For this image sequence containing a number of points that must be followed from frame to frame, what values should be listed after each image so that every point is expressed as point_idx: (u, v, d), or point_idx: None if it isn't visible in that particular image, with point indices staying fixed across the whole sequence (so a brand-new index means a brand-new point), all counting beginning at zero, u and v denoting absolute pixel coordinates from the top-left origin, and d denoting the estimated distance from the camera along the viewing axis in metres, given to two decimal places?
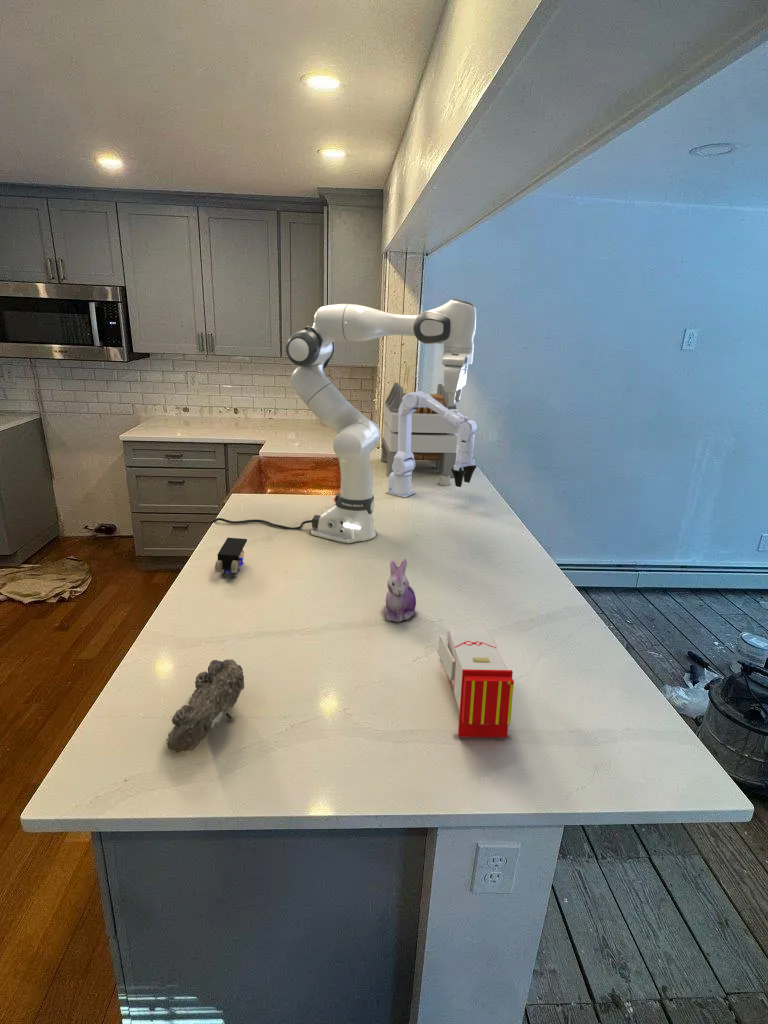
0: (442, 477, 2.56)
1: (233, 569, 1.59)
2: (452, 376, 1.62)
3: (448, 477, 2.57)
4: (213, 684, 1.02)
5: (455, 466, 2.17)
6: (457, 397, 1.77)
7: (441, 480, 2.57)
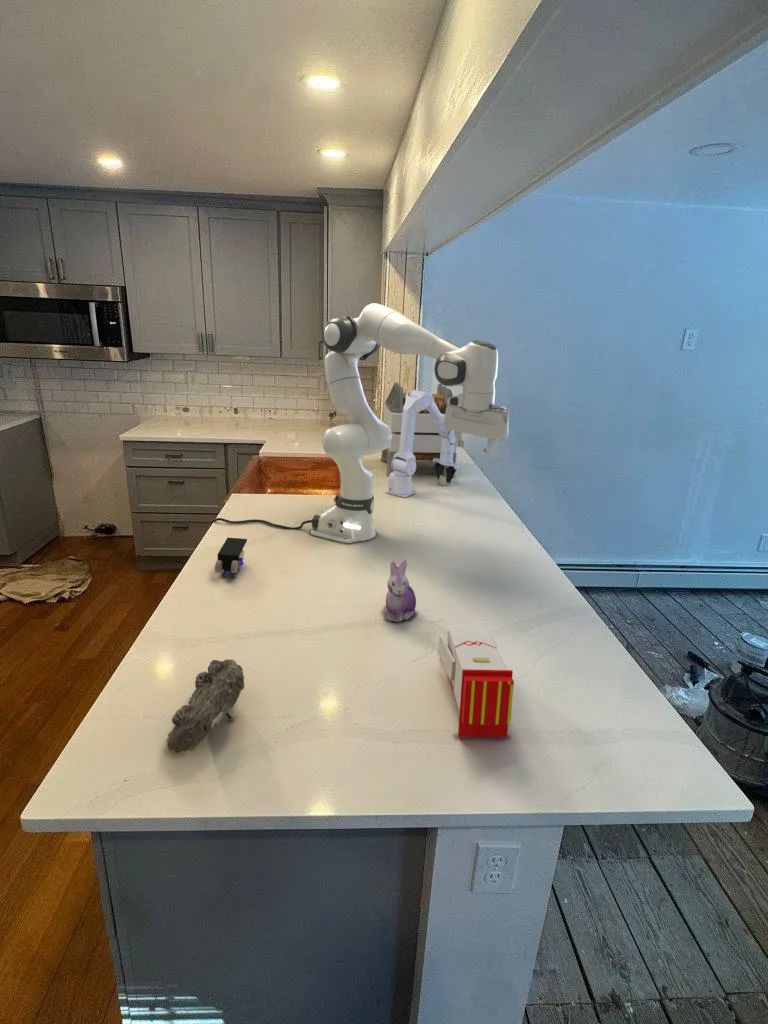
0: (442, 477, 2.56)
1: (233, 569, 1.59)
2: None
3: None
4: (213, 684, 1.02)
5: (457, 466, 2.51)
6: None
7: (441, 480, 2.57)
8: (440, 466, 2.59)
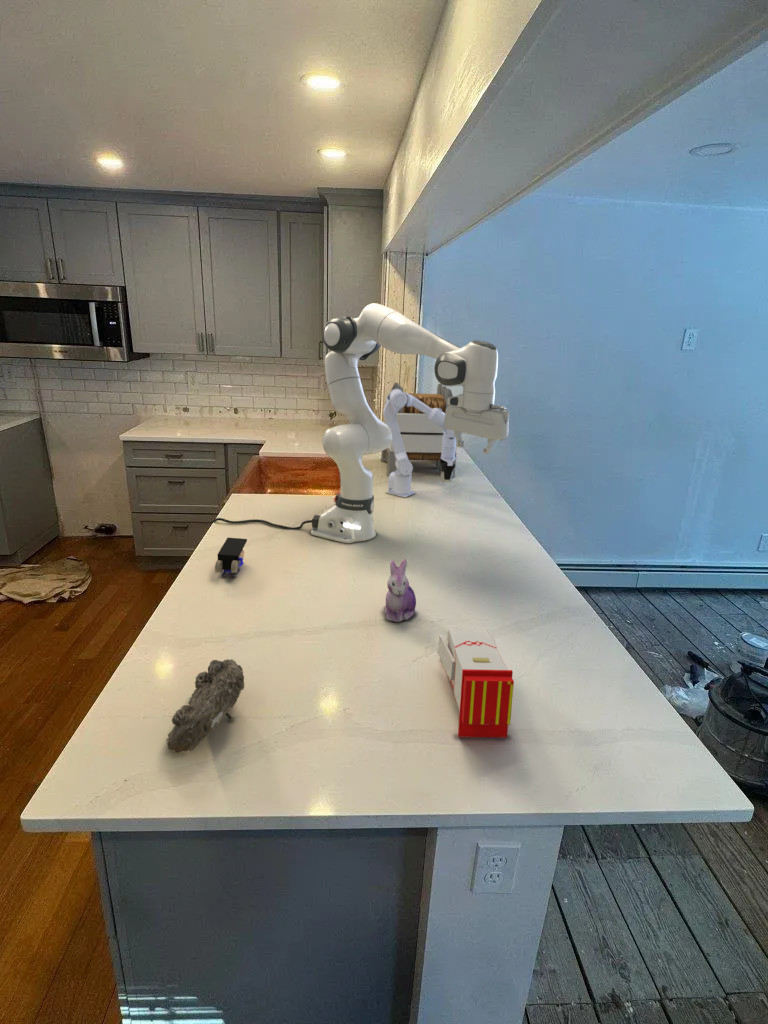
0: (441, 473, 2.42)
1: (233, 569, 1.59)
2: None
3: None
4: (213, 684, 1.02)
5: (449, 462, 2.34)
6: None
7: (440, 476, 2.43)
8: (445, 461, 2.44)
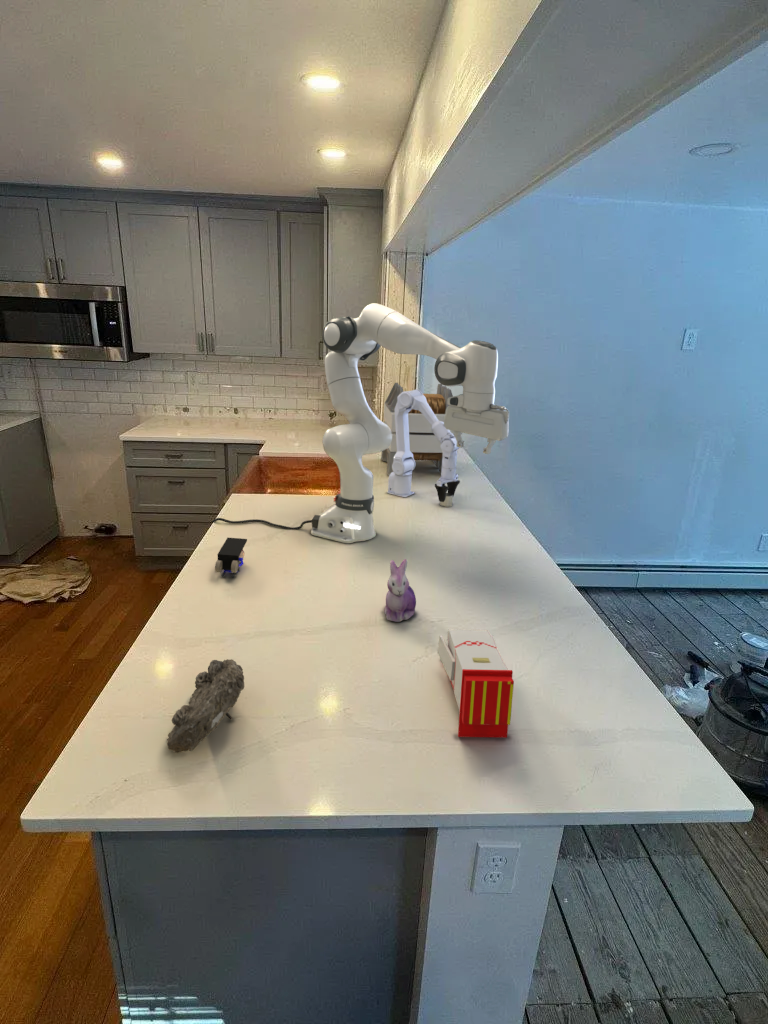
0: None
1: (233, 569, 1.59)
2: None
3: None
4: (213, 684, 1.02)
5: (438, 482, 2.23)
6: None
7: None
8: (450, 482, 2.33)
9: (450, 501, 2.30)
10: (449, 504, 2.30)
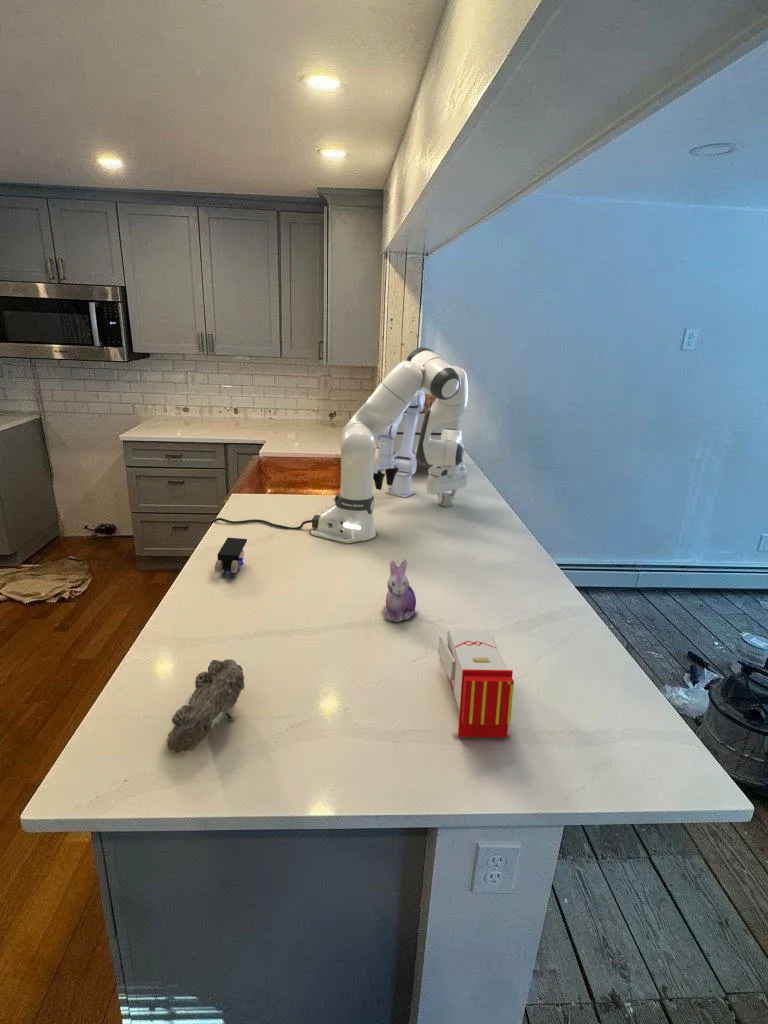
0: None
1: (233, 569, 1.59)
2: (431, 483, 2.22)
3: (443, 497, 2.29)
4: (213, 684, 1.02)
5: None
6: None
7: None
8: (389, 469, 2.25)
9: (450, 501, 2.30)
10: (449, 504, 2.30)
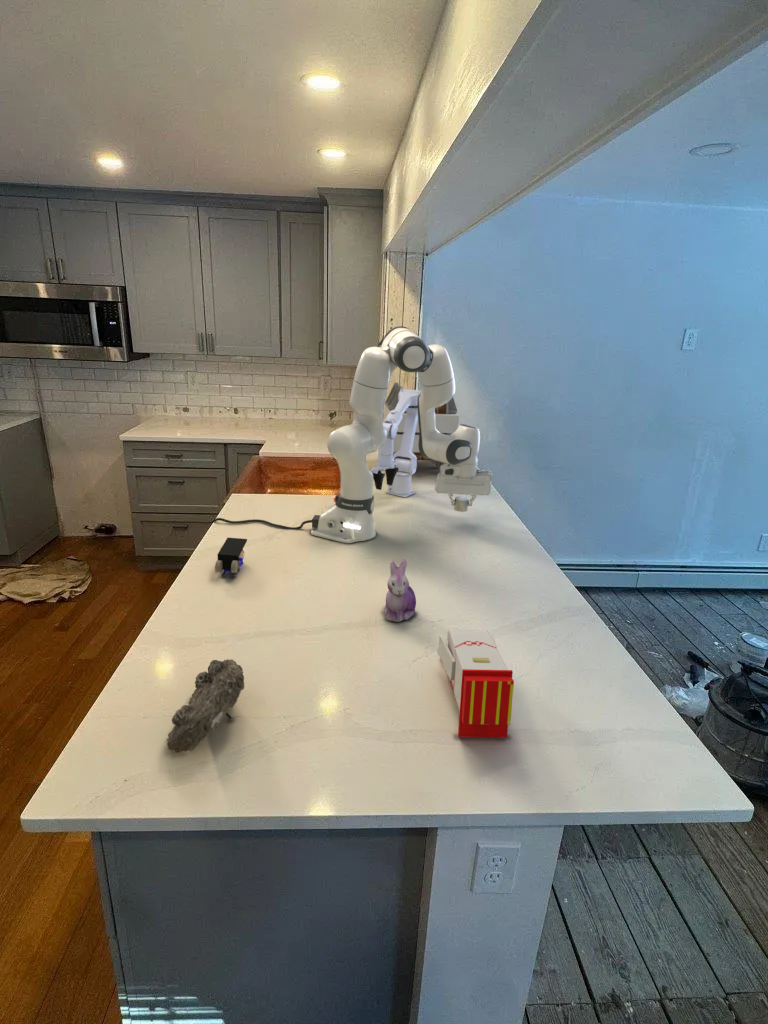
0: None
1: (233, 569, 1.59)
2: (436, 480, 2.06)
3: (455, 500, 2.08)
4: (213, 684, 1.02)
5: (373, 469, 2.16)
6: (468, 502, 2.09)
7: None
8: (389, 469, 2.25)
9: (461, 506, 2.07)
10: (460, 509, 2.07)
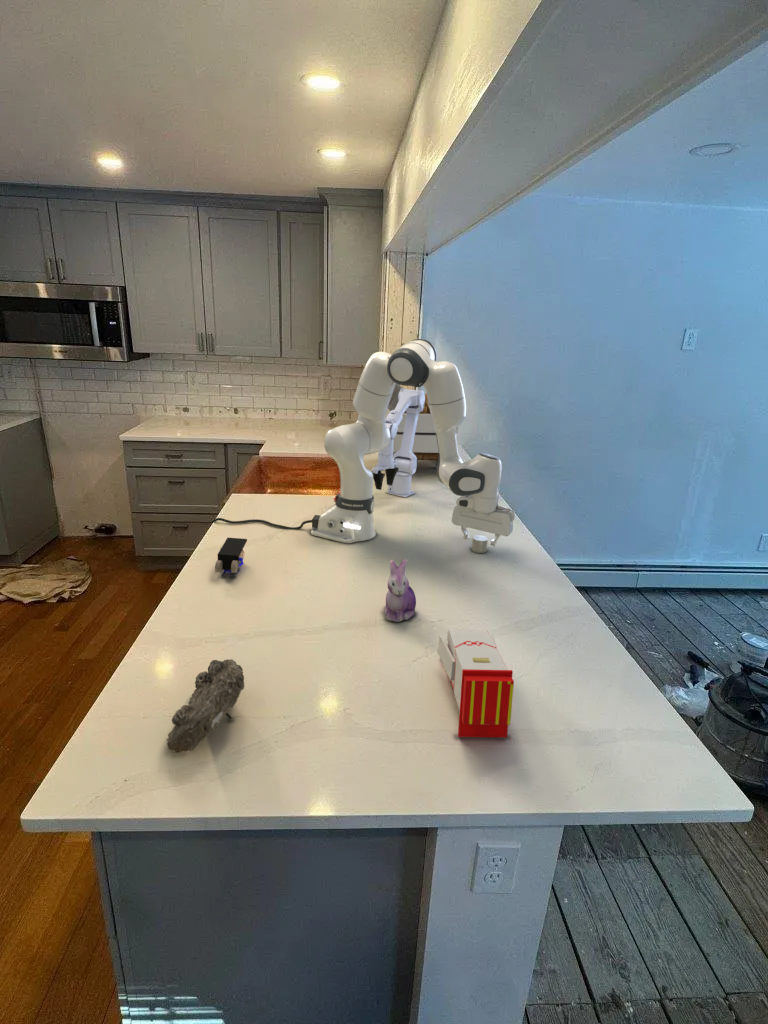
0: None
1: (233, 569, 1.59)
2: None
3: None
4: (213, 684, 1.02)
5: (373, 469, 2.16)
6: None
7: None
8: (389, 469, 2.25)
9: (477, 546, 1.87)
10: (475, 549, 1.87)
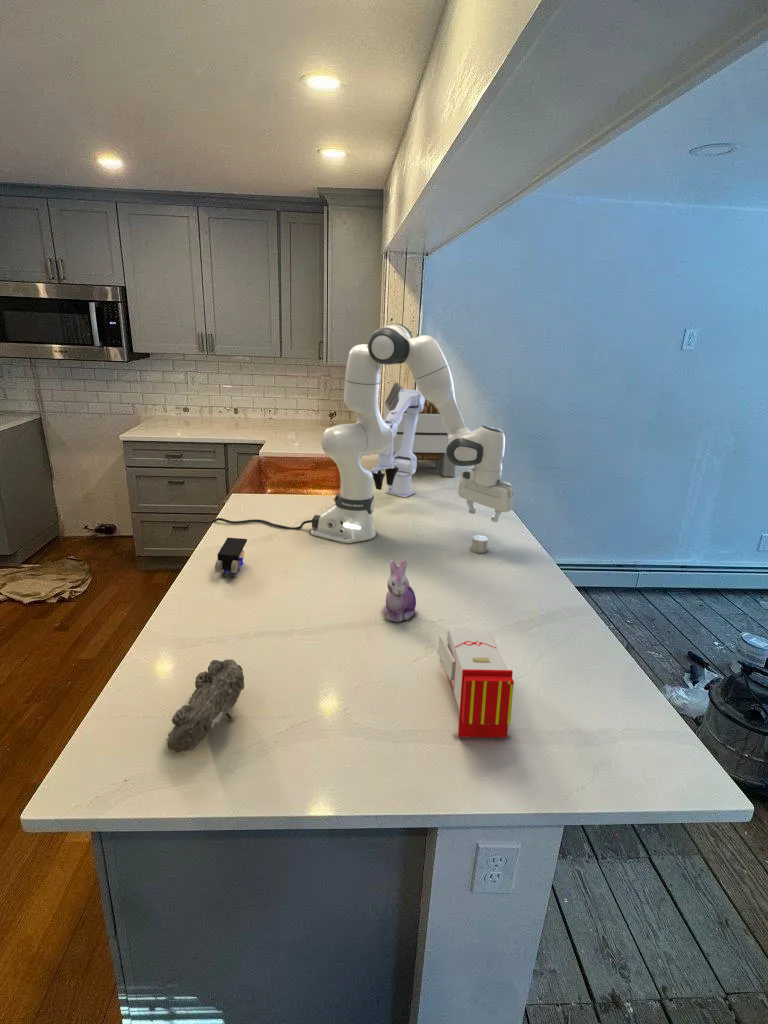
0: None
1: (233, 569, 1.59)
2: None
3: None
4: (213, 684, 1.02)
5: (373, 469, 2.16)
6: None
7: None
8: (389, 469, 2.25)
9: (477, 546, 1.87)
10: (475, 549, 1.87)
